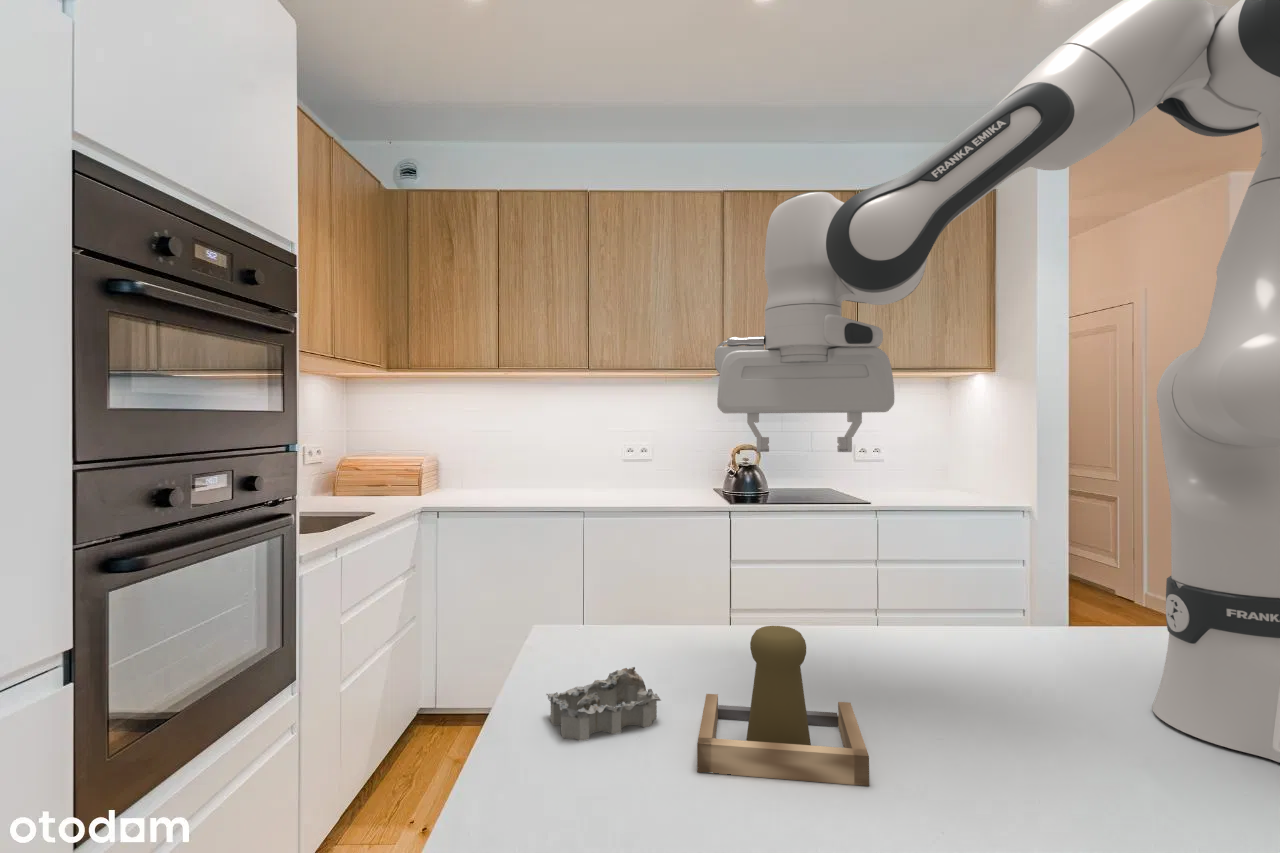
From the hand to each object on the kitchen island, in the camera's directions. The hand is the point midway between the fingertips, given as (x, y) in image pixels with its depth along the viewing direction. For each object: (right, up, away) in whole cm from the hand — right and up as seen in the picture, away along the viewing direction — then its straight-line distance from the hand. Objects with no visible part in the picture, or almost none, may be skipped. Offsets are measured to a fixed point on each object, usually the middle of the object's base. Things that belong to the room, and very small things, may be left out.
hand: (803, 452), depth 80 cm
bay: (-6, -27, -16) cm, 32 cm away
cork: (-6, -27, -16) cm, 32 cm away
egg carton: (-23, -28, -10) cm, 37 cm away
